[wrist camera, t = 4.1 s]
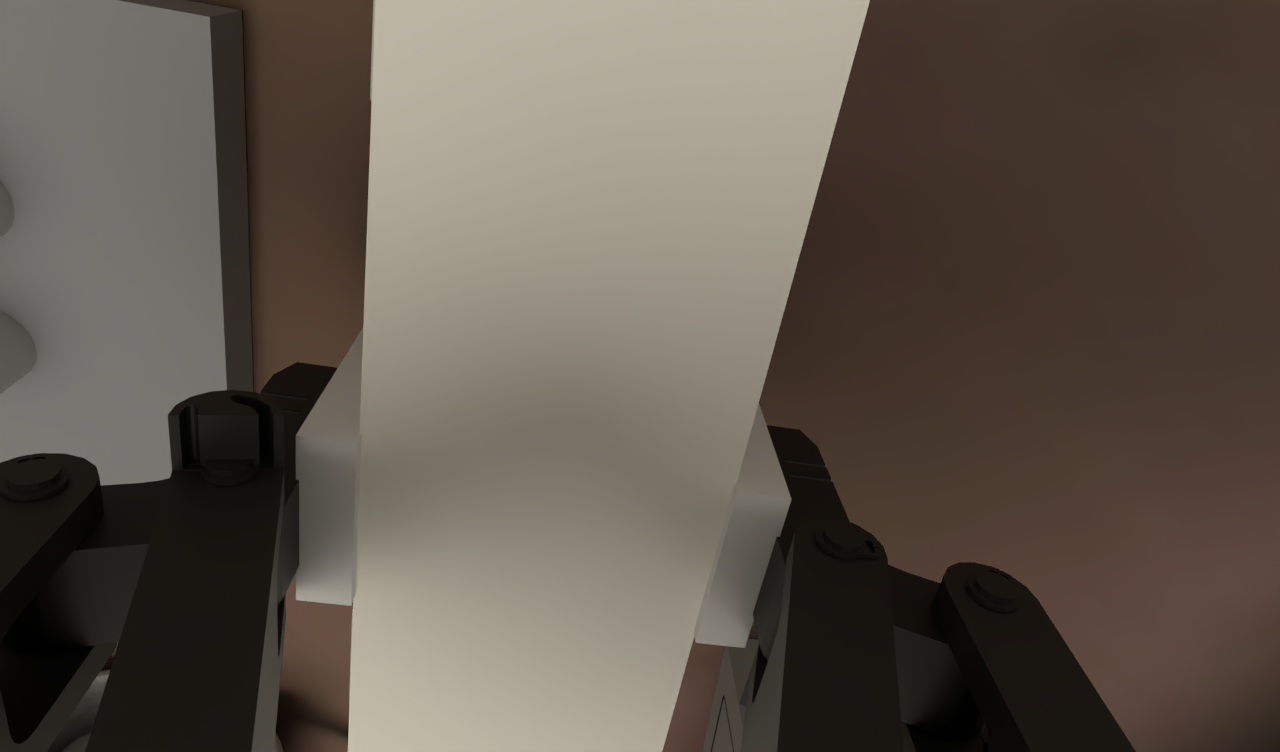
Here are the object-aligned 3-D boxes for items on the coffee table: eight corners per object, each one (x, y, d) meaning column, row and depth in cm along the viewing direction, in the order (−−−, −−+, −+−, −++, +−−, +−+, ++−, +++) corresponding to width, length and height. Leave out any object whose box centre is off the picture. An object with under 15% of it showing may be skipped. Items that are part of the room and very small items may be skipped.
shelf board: (422, -147, 10) (381, -168, 8) (837, -61, 10) (886, -61, 9) (370, 782, 17) (342, 881, 15) (619, 803, 17) (621, 900, 16)
